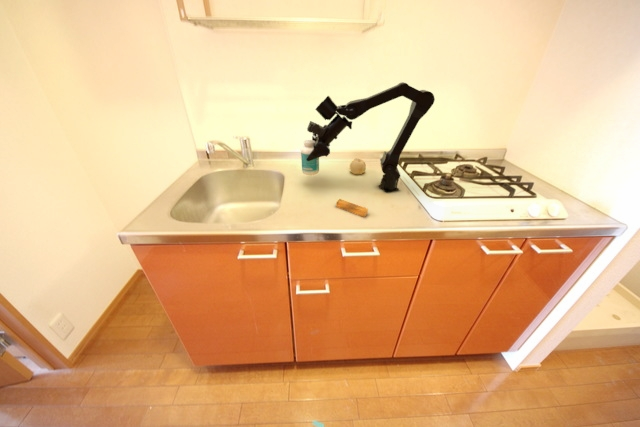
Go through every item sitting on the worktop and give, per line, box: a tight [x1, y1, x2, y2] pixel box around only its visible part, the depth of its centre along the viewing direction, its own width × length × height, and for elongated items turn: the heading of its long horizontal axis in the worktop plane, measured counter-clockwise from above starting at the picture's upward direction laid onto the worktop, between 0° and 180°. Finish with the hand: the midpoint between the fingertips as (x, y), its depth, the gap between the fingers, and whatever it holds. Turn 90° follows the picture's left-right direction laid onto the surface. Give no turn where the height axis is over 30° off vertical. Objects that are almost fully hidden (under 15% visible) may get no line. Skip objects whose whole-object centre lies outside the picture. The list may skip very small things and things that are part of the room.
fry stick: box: [335, 198, 369, 218], centre depth 84 cm, size 12×2×2 cm, turn 54°
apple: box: [349, 158, 367, 175], centre depth 113 cm, size 8×8×8 cm
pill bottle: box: [300, 139, 320, 176], centre depth 95 cm, size 8×7×14 cm
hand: (306, 157), depth 95 cm, fingers closed on pill bottle, 7 cm apart
